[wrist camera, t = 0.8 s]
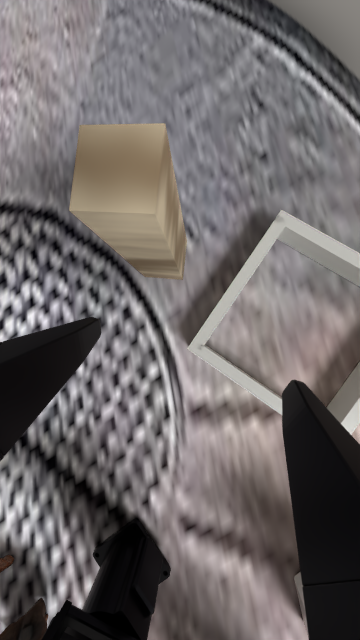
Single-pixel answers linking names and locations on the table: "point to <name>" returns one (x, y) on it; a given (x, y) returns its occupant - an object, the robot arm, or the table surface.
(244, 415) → the table surface
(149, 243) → the tan square block
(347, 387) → the tray
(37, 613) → the brown looped piece
